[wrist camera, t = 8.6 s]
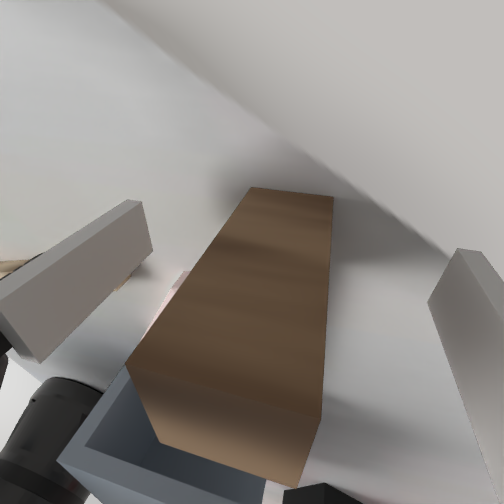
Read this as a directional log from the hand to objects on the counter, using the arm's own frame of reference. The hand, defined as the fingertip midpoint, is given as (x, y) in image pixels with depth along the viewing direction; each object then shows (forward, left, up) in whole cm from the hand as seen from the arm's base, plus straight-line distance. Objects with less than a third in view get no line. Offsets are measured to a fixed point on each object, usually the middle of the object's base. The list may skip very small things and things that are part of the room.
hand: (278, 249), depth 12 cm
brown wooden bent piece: (-7, +4, -3) cm, 9 cm away
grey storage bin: (-23, +6, -3) cm, 23 cm away
